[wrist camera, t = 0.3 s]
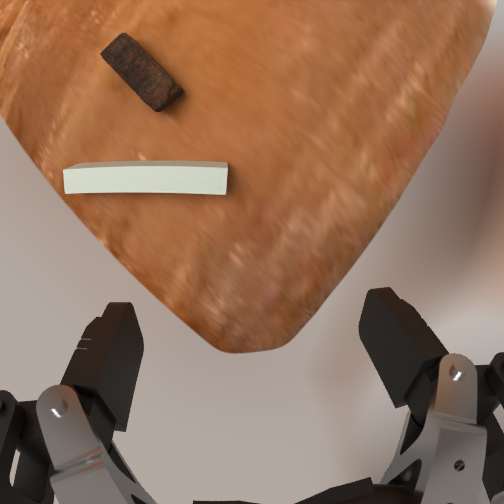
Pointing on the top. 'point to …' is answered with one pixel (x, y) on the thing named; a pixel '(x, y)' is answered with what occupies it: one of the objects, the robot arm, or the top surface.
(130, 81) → the brick
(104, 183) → the board
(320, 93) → the top surface
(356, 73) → the top surface
